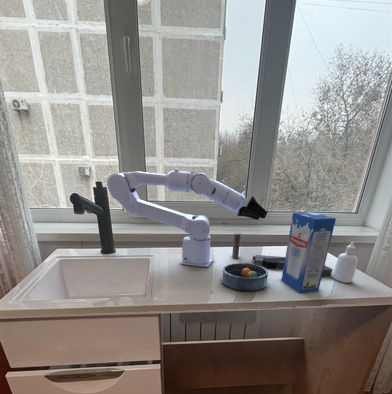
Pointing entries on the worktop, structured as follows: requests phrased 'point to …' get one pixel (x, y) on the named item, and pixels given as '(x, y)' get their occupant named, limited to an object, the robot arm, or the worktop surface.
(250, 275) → the bead
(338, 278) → the eye dropper bottle
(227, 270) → the bowl
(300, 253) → the milk carton
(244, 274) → the bead
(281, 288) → the worktop surface
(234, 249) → the stirring stick
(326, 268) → the pistol
